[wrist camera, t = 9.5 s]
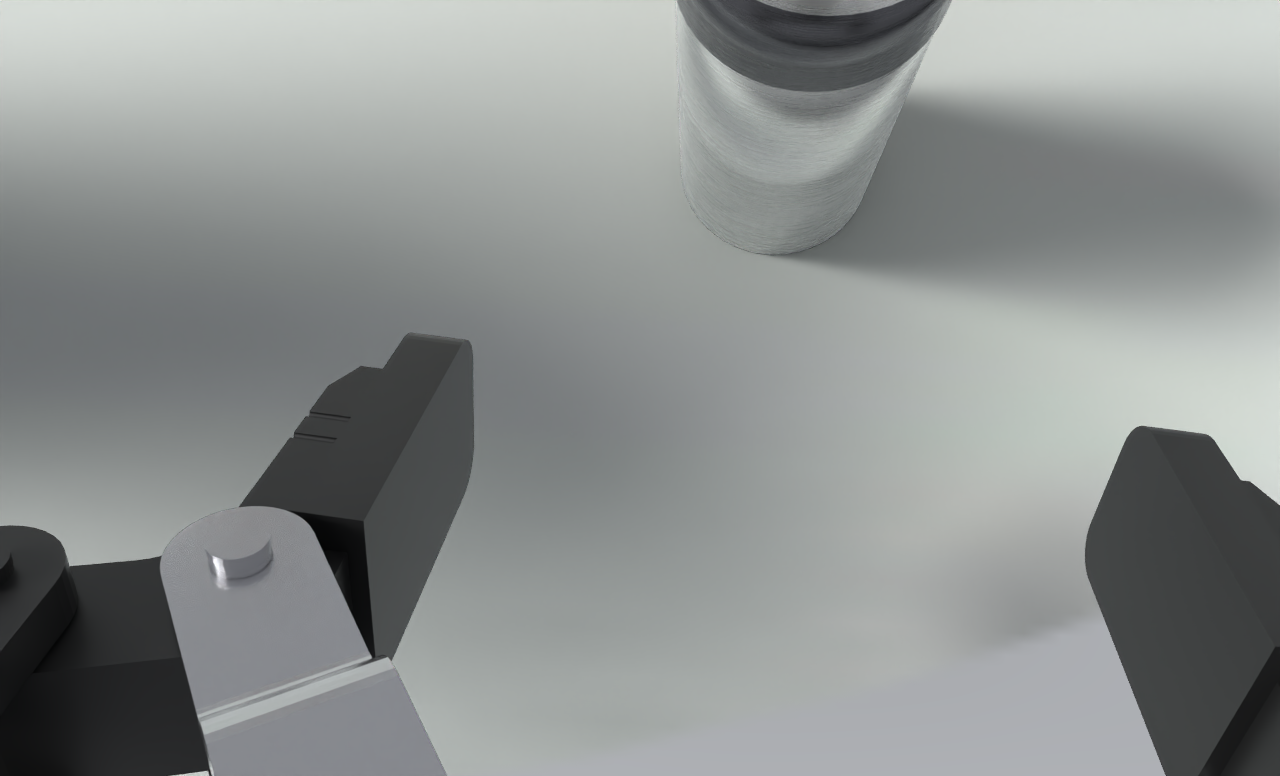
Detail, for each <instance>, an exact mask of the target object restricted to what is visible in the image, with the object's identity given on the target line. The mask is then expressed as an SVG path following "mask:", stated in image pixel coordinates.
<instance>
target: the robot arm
mask: <svg viewBox="0 0 1280 776" xmlns="http://www.w3.org/2000/svg"><path fill="white" fill-rule="evenodd" d="M473 450H474V415H473V353H472V347H471V344H470V342H469V341H468V340H463V339H455V338H448V337H440V336H432V335H425V334H417V333H408V334H407V335H406V336H405V337H404V338H403V340H402V341H401V343H400V344H399V346H398V347H397V349H396V350H395V352H394V353H393V355H392V356H391V358H390V359H389V361H388V362H387V364H386V365H385V367H384V368H383V369H379V368H371V367H364V366H361V367H359V368H357V369H356V370H354V371H352V372H351V373H349V374H347V375H346V376H344V377H342V378H341V379H339V380H337V381H336V382H334V383H333V384H331V385H329V386H328V387H327V388H326V390H325V391H324V393H323V394H322V395H321V397H320V398H319V399H318V401H317V402H316V403H315V405H314V406H313V407H312V409H311V410H310V414H309V417H307V416H306V417H305V418H304V420H303V421H302V422H301V424H300V425H299V426H298V428H297V429H296V430H295V432H294V437H293V438H290V439H289V440H288V441H287V443H286V444H285V445H284V447H283V448H282V449H281V451H280V452H279V453H278V455H277V456H276V458H275V459H274V460H273V462H272V463H271V464H270V466H269V467H268V468H267V470H266V471H265V472H264V474H263V475H262V476H261V478H260V479H259V481H258V482H257V483H256V485H255V486H254V487H253V489H252V490H251V491H250V493H249V494H248V495H247V497H246V498H245V499H244V501H243V502H242V504H241V505H240V506H239V507H238V508H233V509H228V510H224V511H220V512H217V513H214V514H211V515H209V516H206V517H204V518H202V519H200V520H198V521H196V522H194V523H192V524H191V525H189V526H188V527H186V528H185V529H183V530H182V531H181V532H179V533H178V534H177V535H176V536H175V537H174V538H173V539H172V540H171V542H170V543H169V544H168V546H167V547H166V548H165V550H164V553H163V555H162V556H159V557H155V558H151V559H143V560H136V561H125V562H114V563H103V564H92V565H80V566H69V563H68V560H67V556H66V553H65V550H64V548H63V546H62V544H61V542H60V541H59V540H58V539H57V538H55V537H54V536H53V535H51V534H49V533H47V532H46V531H43V530H40V529H37V528H32V527H26V526H0V776H172V775H179V774H186V773H194V772H201V771H208V775H209V776H447V775H446V772H445V770H444V768H443V766H442V764H441V762H440V760H439V758H438V756H437V754H436V752H435V749H434V747H433V745H432V743H431V741H430V739H429V737H428V735H427V733H426V731H425V729H424V726H423V724H422V722H421V720H420V718H419V716H418V714H417V712H416V710H415V708H414V706H413V703H412V701H411V699H410V697H409V695H408V693H407V691H406V689H405V687H404V685H403V683H402V680H401V678H400V676H399V674H398V672H397V670H396V668H395V667H394V665H393V663H392V662H391V661H392V659H393V657H394V654H395V652H396V650H397V647H398V645H399V643H400V641H401V638H402V636H403V634H404V631H405V629H406V627H407V625H408V622H409V620H410V618H411V615H412V613H413V611H414V608H415V606H416V604H417V602H418V599H419V597H420V595H421V592H422V590H423V588H424V586H425V583H426V581H427V579H428V576H429V574H430V572H431V570H432V567H433V565H434V563H435V560H436V558H437V556H438V553H439V551H440V549H441V547H442V544H443V542H444V540H445V537H446V535H447V533H448V531H449V528H450V526H451V524H452V521H453V519H454V517H455V514H456V512H457V510H458V508H459V505H460V503H461V501H462V498H463V496H464V494H465V491H466V488H467V485H468V481H469V477H470V473H471V467H472V460H473ZM1085 564H1086V571H1087V575H1088V578H1089V581H1090V584H1091V586H1092V589H1093V591H1094V594H1095V596H1096V599H1097V602H1098V604H1099V607H1100V609H1101V612H1102V614H1103V617H1104V619H1105V622H1106V625H1107V627H1108V629H1109V632H1110V635H1111V637H1112V640H1113V642H1114V645H1115V647H1116V650H1117V652H1118V655H1119V658H1120V660H1121V663H1122V665H1123V668H1124V670H1125V673H1126V675H1127V678H1128V681H1129V683H1130V686H1131V688H1132V691H1133V693H1134V696H1135V698H1136V701H1137V704H1138V706H1139V709H1140V711H1141V714H1142V716H1143V719H1144V721H1145V724H1146V727H1147V729H1148V732H1149V734H1150V737H1151V739H1152V742H1153V744H1154V747H1155V749H1156V752H1157V755H1158V757H1159V760H1160V762H1161V765H1162V767H1163V770H1164V772H1165V775H1166V776H1280V505H1279V504H1277V503H1276V502H1275V501H1274V500H1272V499H1271V498H1270V497H1269V496H1267V495H1266V494H1265V493H1264V492H1262V491H1261V490H1260V489H1259V488H1257V487H1256V486H1255V485H1254V484H1252V483H1251V482H1249V481H1242V480H1240V479H1239V477H1238V476H1237V474H1236V473H1235V471H1234V470H1233V468H1232V467H1231V465H1230V464H1229V462H1228V461H1227V459H1226V458H1225V456H1224V455H1223V453H1222V452H1221V450H1220V449H1219V447H1218V446H1217V444H1216V442H1215V441H1214V440H1213V439H1212V438H1211V437H1210V436H1209V435H1206V434H1201V433H1194V432H1186V431H1178V430H1171V429H1163V428H1155V427H1147V426H1139V427H1136V428H1135V429H1134V430H1133V431H1132V432H1131V433H1130V434H1129V436H1128V437H1127V439H1126V441H1125V443H1124V445H1123V447H1122V450H1121V452H1120V455H1119V457H1118V459H1117V462H1116V464H1115V467H1114V469H1113V471H1112V474H1111V476H1110V479H1109V481H1108V483H1107V486H1106V488H1105V490H1104V493H1103V495H1102V498H1101V500H1100V502H1099V505H1098V507H1097V510H1096V512H1095V514H1094V517H1093V519H1092V522H1091V524H1090V527H1089V530H1088V534H1087V539H1086V547H1085Z"/></svg>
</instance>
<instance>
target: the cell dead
mask: <svg viewBox="0 0 1280 776" xmlns="http://www.w3.org/2000/svg"><path fill="white" fill-rule="evenodd" d="M951 1H952V0H675V9H676V39H677V68H678V98H679V127H680V157H681V177H682V183H683V188H684V191H685V194H686V197H687V199H688V202H689V204H690V206H691V208H692V209H693V211H694V212H695V214H696V215H697V217H698V218H699V219H700V221H701V222H702V223H703V224H704V225H705V226H706V227H707V228H708V229H709V230H710V231H711V232H712V233H714V234H715V235H716V236H718V237H719V238H721V239H722V240H724V241H725V242H727V243H729V244H731V245H733V246H735V247H737V248H740V249H743V250H746V251H750V252H754V253H759V254H769V255H779V254H790V253H796V252H800V251H803V250H806V249H810V248H812V247H814V246H816V245H819V244H821V243H822V242H824V241H826V240H827V239H829V238H831V237H832V236H833V235H835V234H836V233H837V232H838V231H840V230H841V229H842V228H843V227H844V226H845V224H846V223H847V222H848V221H849V220H850V219H851V217H852V216H853V215H854V213H855V212H856V210H857V208H858V206H859V204H860V203H861V201H862V198H863V196H864V194H865V191H866V189H867V187H868V184H869V182H870V180H871V177H872V175H873V173H874V171H875V168H876V166H877V164H878V161H879V159H880V157H881V154H882V152H883V150H884V147H885V145H886V143H887V140H888V138H889V136H890V134H891V131H892V129H893V127H894V124H895V122H896V120H897V117H898V115H899V113H900V110H901V108H902V106H903V104H904V101H905V99H906V97H907V94H908V92H909V90H910V87H911V85H912V83H913V80H914V78H915V76H916V74H917V71H918V69H919V67H920V64H921V62H922V60H923V57H924V55H925V53H926V50H927V48H928V46H929V44H930V41H931V39H932V37H933V34H934V33H935V31H936V30H937V28H938V27H939V25H940V23H941V22H942V20H943V18H944V16H945V14H946V12H947V10H948V8H949V6H950V3H951Z"/></svg>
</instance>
